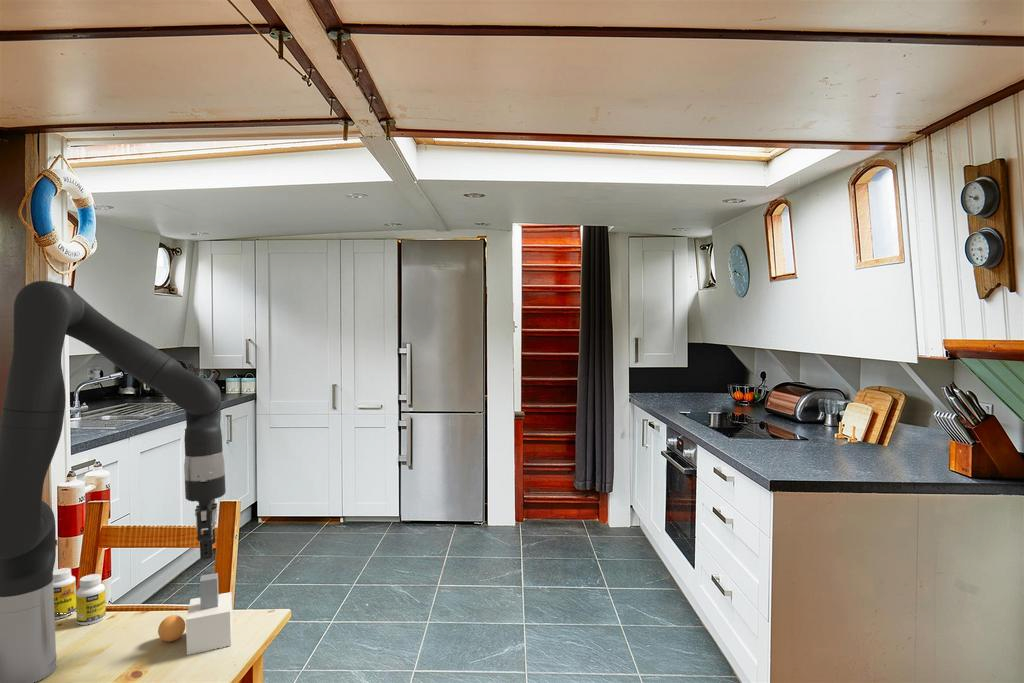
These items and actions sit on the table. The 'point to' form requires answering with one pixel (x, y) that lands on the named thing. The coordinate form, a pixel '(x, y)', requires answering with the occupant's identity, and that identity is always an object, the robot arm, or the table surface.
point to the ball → (171, 628)
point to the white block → (209, 618)
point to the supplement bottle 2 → (90, 600)
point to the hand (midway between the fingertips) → (208, 551)
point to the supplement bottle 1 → (64, 592)
